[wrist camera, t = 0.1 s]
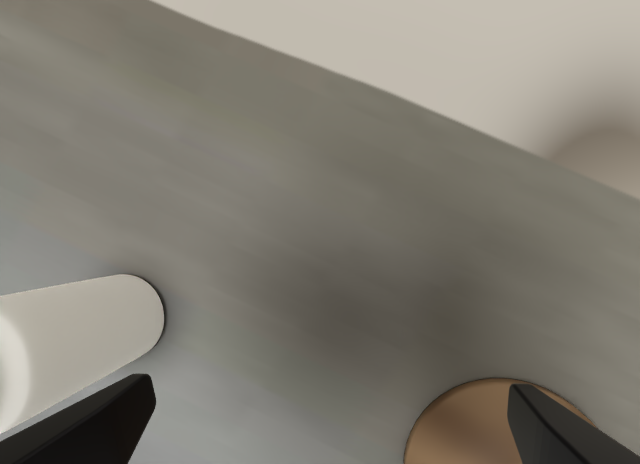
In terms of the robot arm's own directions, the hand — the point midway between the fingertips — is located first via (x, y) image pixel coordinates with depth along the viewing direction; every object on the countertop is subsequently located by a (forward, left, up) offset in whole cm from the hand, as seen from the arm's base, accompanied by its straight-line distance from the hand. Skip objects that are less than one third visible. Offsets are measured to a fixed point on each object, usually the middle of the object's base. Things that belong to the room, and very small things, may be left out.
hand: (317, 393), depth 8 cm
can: (-12, +12, -16) cm, 23 cm away
